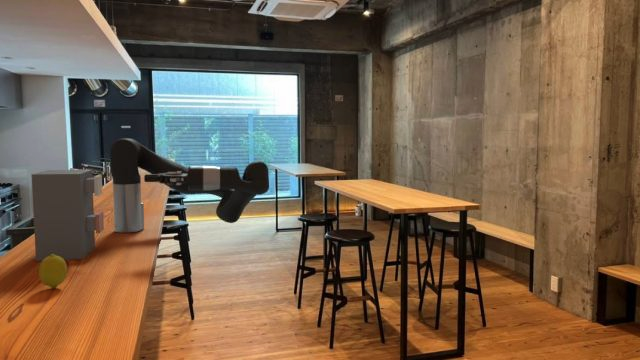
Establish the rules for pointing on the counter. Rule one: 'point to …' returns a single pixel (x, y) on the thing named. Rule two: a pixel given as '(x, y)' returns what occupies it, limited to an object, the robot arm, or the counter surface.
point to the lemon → (53, 271)
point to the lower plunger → (95, 222)
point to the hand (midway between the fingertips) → (144, 178)
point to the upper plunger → (94, 185)
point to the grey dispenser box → (62, 214)
